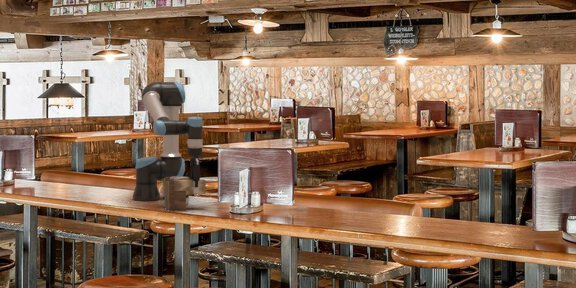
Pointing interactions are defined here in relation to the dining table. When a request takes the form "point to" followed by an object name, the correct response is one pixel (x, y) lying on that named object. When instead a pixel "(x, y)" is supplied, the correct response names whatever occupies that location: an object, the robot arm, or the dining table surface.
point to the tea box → (164, 189)
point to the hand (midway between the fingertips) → (194, 192)
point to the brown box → (174, 197)
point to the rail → (190, 186)
